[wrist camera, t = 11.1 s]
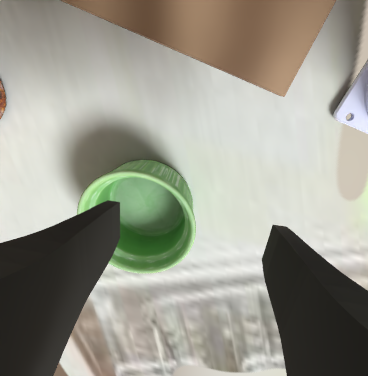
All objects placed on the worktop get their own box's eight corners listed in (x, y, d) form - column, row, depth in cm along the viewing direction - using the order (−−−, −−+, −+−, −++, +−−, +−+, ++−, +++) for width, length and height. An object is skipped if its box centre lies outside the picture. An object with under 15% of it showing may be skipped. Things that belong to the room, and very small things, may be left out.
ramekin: (84, 167, 21) (54, 187, 17) (181, 140, 20) (174, 156, 16) (122, 248, 25) (105, 281, 21) (209, 232, 23) (209, 265, 19)
